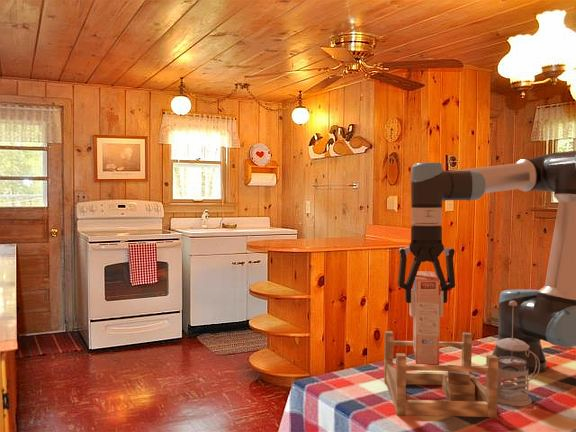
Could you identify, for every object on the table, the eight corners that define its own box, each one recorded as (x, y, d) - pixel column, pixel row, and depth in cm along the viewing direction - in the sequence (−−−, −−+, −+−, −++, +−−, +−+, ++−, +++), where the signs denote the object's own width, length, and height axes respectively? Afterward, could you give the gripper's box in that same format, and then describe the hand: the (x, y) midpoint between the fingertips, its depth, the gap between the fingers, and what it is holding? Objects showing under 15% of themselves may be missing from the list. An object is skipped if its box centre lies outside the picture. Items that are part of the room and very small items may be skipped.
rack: (468, 383, 142) (469, 332, 142) (496, 417, 121) (498, 357, 120) (384, 381, 144) (384, 331, 143) (396, 414, 122) (397, 355, 121)
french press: (484, 390, 137) (486, 296, 136) (529, 391, 137) (531, 297, 136) (498, 405, 127) (500, 304, 126) (546, 406, 127) (549, 305, 126)
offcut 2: (466, 384, 137) (466, 374, 137) (474, 395, 129) (475, 385, 129) (442, 383, 137) (443, 373, 137) (450, 394, 129) (450, 384, 129)
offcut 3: (464, 392, 138) (465, 383, 138) (475, 406, 129) (475, 396, 129) (441, 391, 138) (442, 382, 138) (450, 405, 129) (450, 395, 129)
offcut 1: (467, 376, 136) (468, 366, 136) (469, 384, 129) (469, 374, 129) (447, 373, 137) (448, 364, 137) (448, 382, 131) (448, 372, 131)
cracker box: (440, 366, 124) (440, 279, 124) (415, 364, 126) (414, 278, 125) (436, 348, 138) (436, 270, 137) (412, 347, 139) (412, 270, 138)
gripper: (389, 225, 127) (389, 319, 128) (470, 225, 126) (469, 319, 127) (385, 223, 135) (385, 312, 136) (461, 223, 134) (460, 312, 135)
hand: (426, 315), depth 131 cm, fingers closed on cracker box, 6 cm apart
